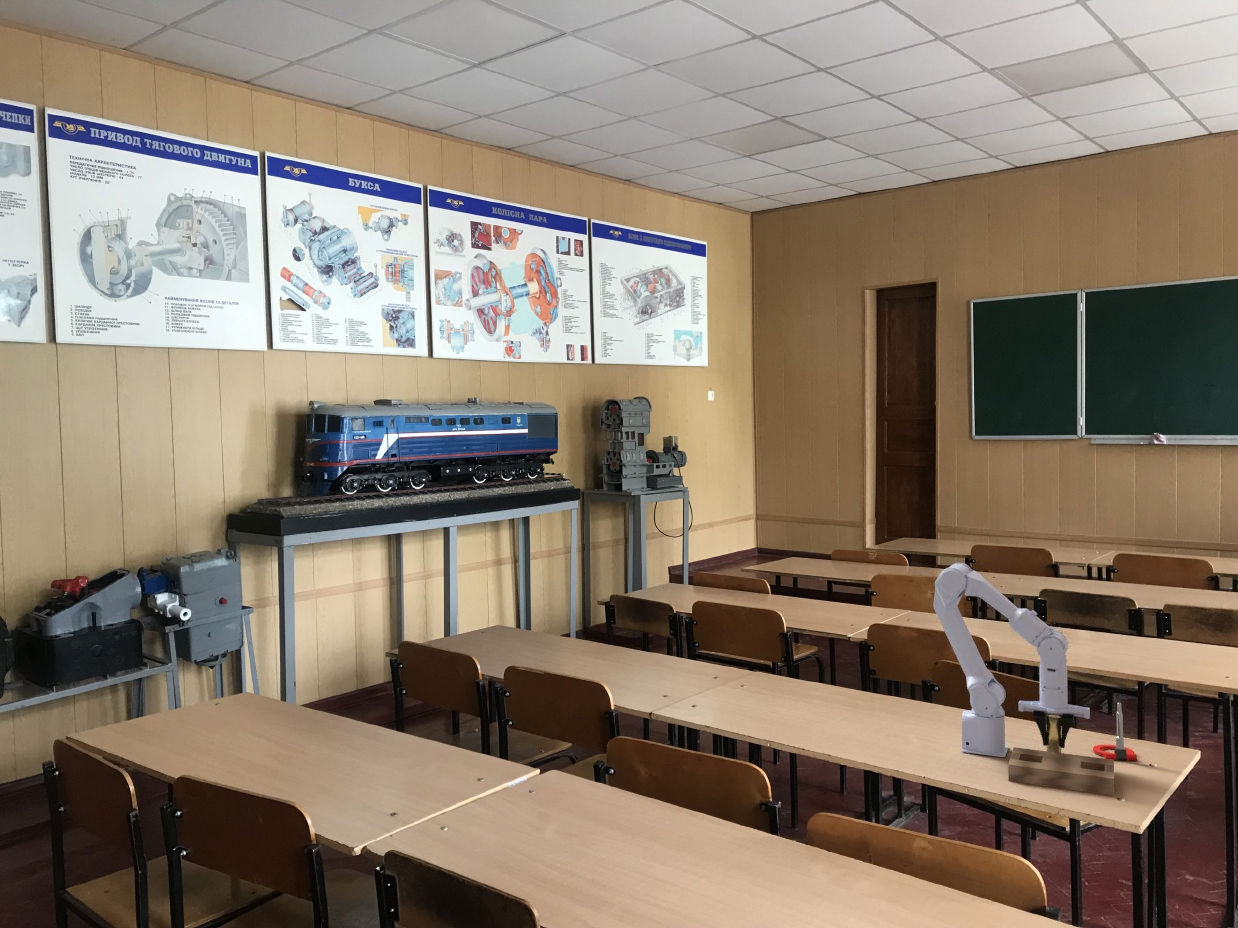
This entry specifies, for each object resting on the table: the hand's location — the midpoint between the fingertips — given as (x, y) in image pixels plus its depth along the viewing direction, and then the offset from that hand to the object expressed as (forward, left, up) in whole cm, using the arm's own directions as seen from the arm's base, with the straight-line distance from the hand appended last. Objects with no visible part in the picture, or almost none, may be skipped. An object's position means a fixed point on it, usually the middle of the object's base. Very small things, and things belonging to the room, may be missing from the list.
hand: (1053, 745), depth 211 cm
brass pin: (0, 0, -3) cm, 3 cm away
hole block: (+2, -11, -3) cm, 12 cm away
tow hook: (+12, +10, -4) cm, 16 cm away
